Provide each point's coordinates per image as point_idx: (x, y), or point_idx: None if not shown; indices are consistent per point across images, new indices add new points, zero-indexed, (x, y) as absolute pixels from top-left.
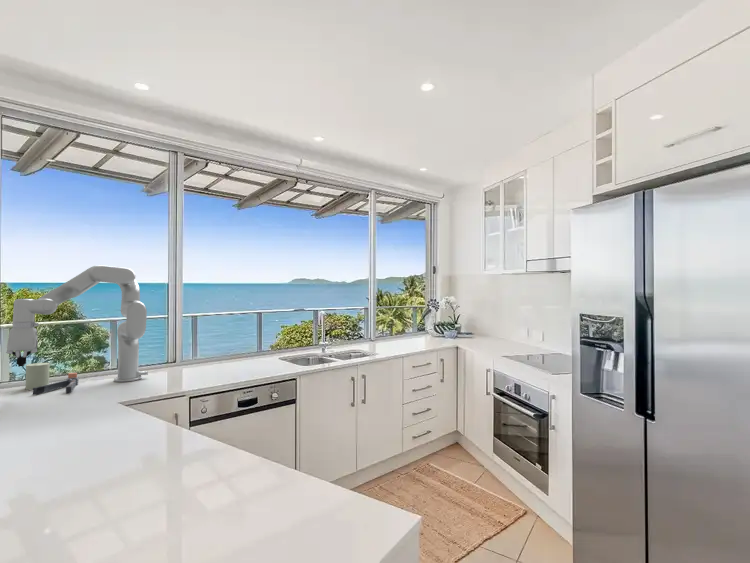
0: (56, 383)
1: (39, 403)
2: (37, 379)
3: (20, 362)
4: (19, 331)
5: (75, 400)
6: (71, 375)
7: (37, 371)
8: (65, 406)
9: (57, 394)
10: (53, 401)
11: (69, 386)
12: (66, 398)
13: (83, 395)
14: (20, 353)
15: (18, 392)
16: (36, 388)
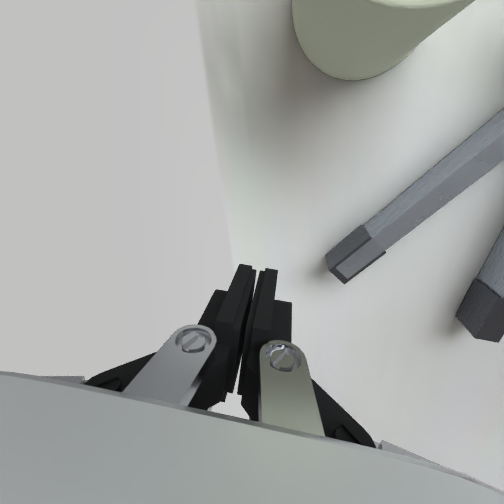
0: (469, 184)
1: None
2: (374, 58)
3: (242, 349)
4: None
5: (444, 438)
6: None
7: (395, 36)
8: None
9: (420, 303)
10: (380, 407)
11: (493, 334)
12: (428, 395)
13: (500, 389)
14: (197, 385)
15: (263, 121)
16: (344, 283)
